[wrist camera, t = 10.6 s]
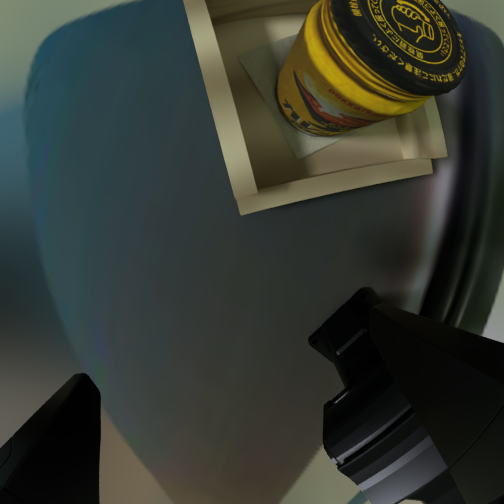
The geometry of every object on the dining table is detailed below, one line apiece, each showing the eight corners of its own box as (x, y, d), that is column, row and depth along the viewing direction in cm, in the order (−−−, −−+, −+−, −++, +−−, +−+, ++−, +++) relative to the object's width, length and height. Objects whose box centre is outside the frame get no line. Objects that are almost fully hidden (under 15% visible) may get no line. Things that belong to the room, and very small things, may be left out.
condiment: (297, 160, 17) (393, 144, 6) (236, 57, 15) (237, -66, 4) (381, 121, 17) (510, 93, 5) (325, 26, 15) (396, -70, 3)
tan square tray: (411, 171, 19) (450, 174, 14) (240, 208, 19) (240, 221, 14) (360, 9, 15) (384, -18, 10) (192, 25, 15) (181, -9, 10)
